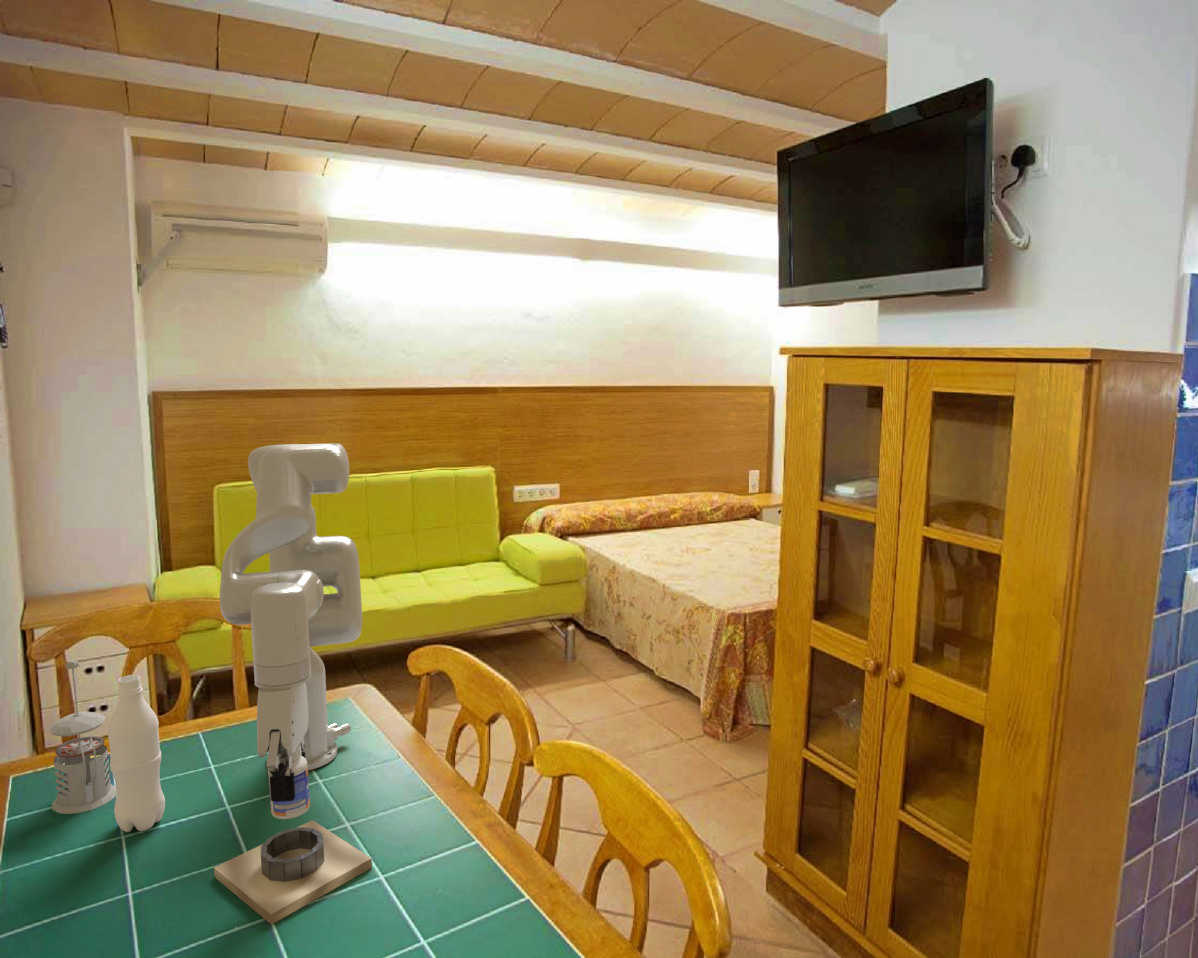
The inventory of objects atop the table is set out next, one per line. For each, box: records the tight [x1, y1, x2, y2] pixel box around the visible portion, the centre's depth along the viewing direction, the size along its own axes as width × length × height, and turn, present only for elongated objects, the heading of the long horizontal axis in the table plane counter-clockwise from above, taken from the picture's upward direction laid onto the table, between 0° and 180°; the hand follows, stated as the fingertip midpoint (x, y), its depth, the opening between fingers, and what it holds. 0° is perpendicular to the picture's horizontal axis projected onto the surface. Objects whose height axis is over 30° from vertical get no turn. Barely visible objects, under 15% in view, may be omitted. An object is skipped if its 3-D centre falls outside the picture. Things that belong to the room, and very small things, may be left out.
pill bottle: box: [267, 744, 311, 820], centre depth 117 cm, size 5×5×10 cm
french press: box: [49, 659, 116, 815], centre depth 137 cm, size 10×12×25 cm
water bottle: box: [107, 674, 166, 833], centre depth 130 cm, size 7×7×25 cm
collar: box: [261, 826, 324, 882], centre depth 119 cm, size 9×9×3 cm
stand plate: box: [213, 820, 373, 925], centre depth 119 cm, size 16×16×2 cm
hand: (289, 787), depth 117 cm, fingers closed on pill bottle, 5 cm apart
